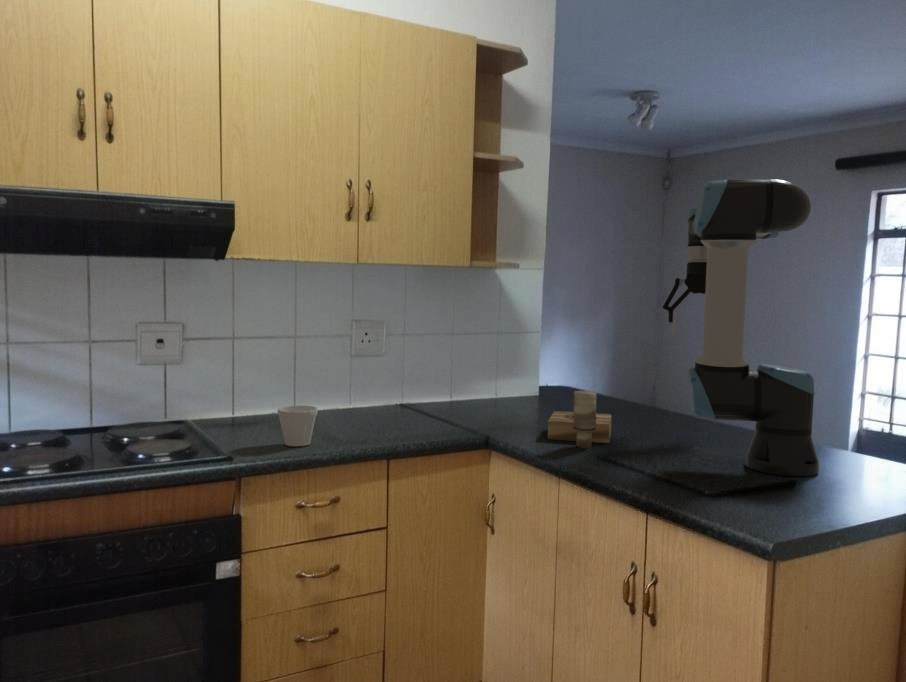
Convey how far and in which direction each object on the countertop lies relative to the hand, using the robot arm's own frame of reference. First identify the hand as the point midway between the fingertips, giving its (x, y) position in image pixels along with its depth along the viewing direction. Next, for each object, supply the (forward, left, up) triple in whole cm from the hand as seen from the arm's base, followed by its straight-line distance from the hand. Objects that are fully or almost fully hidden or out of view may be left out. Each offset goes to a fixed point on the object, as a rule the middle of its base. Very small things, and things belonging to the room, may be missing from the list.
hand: (697, 334), depth 209 cm
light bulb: (-37, +30, -27) cm, 55 cm away
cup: (-57, +100, -27) cm, 118 cm away
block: (-24, +32, -27) cm, 48 cm away
